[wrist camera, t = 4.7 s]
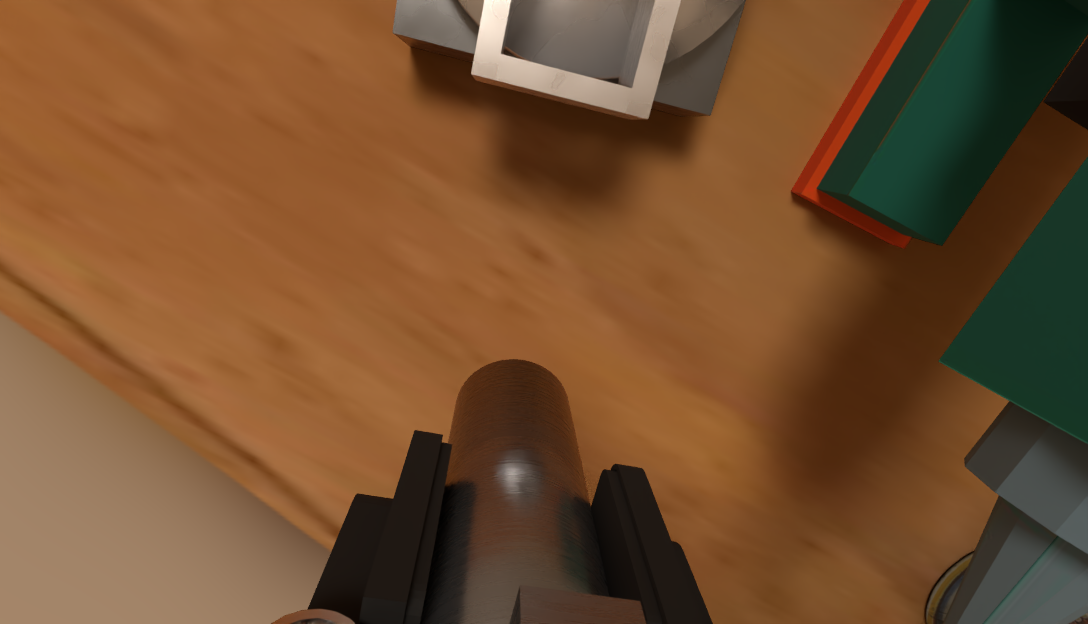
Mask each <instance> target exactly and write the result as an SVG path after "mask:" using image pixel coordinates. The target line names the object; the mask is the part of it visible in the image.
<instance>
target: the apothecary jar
mask: <svg viewBox="0 0 1088 624" xmlns="http://www.w3.org/2000/svg"><path fill="white" fill-rule="evenodd" d="M973 554H974V552H973V553H971V554H970V555H968V556H966V557H965V558H963V559H962V560H961V561H959V562H958V563H956V564H955V565H954V566H953V567H952V568H950V569H949V570H948V571H947V572H946V573H945V574H944V576H943V577H942V578H941V579H940V581H939V582H938V583H937V584H936V586H935V588H934V589H933V592H932V593H931V595H930V598H929V601H928V604H927V608H926V621H927V624H943V622H944V620H945V617H946V615H947V613H948V610H949V608H950V606H951V604H952V601H953V599H954V597H955V595H956V592H957V590H958V588H959V585H960V583H961V581H962V579H963V576H964V574H965V572H966V569H967V567H968V565H969V563H970V560H971V558H972V556H973ZM1069 624H1088V613H1086V614H1085V615H1083V616H1081V617H1079V618H1078V619H1076V620H1074V621H1072V622H1071V623H1069Z"/></svg>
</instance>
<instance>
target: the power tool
mask: <svg viewBox="0 0 1088 624" xmlns="http://www.w3.org/2000/svg"><path fill="white" fill-rule="evenodd" d="M1087 34H1088V0H904V1H903V3H902V4H901V6H900V8H899V9H898V11H897V13H896V14H895V16H894V18H893V20H892V21H891V23H890V25H889V26H888V28H887V30H886V31H885V33H884V35H883V36H882V38H881V40H880V42H879V43H878V45H877V47H876V48H875V50H874V52H873V53H872V55H871V57H870V58H869V60H868V62H867V63H866V65H865V67H864V69H863V70H862V72H861V74H860V75H859V77H858V79H857V80H856V82H855V84H854V85H853V87H852V89H851V90H850V92H849V94H848V96H847V97H846V99H845V101H844V102H843V104H842V106H841V107H840V109H839V111H838V112H837V114H836V116H835V117H834V119H833V121H832V123H831V124H830V126H829V128H828V129H827V131H826V133H825V134H824V136H823V138H822V139H821V141H820V143H819V145H818V146H817V148H816V150H815V151H814V153H813V155H812V156H811V158H810V160H809V161H808V163H807V165H806V166H805V168H804V170H803V172H802V173H801V175H800V177H799V178H798V180H797V182H796V183H795V185H794V187H793V188H792V190H791V192H793V193H795V194H797V195H799V196H800V197H802V198H804V199H806V200H808V201H810V202H812V203H814V204H816V205H817V206H819V207H821V208H823V209H825V210H827V211H829V212H831V213H833V214H835V215H836V216H838V217H840V218H842V219H844V220H846V221H848V222H850V223H852V224H854V225H855V226H857V227H859V228H861V229H863V230H865V231H867V232H869V233H871V234H872V235H874V236H876V237H878V238H880V239H882V240H884V241H886V242H888V243H890V244H892V245H895V246H898V247H901V248H904V249H905V248H906V246H907V245H908V243H909V242H910V240H911V239H912V237H913V238H916V239H920V240H923V241H927V242H930V243H934V244H937V245H941V246H942V245H943V244H944V242H945V241H946V239H947V238H948V236H949V235H950V234H951V232H952V231H953V229H954V228H955V226H956V225H957V223H958V222H959V220H960V219H961V218H962V216H963V215H964V213H965V212H966V210H967V209H968V207H969V206H970V204H971V203H972V202H973V200H974V199H975V197H976V196H977V194H978V193H979V191H980V190H981V188H982V187H983V186H984V184H985V183H986V181H987V180H988V178H989V177H990V175H991V174H992V172H993V171H994V170H995V168H996V167H997V165H998V164H999V162H1000V161H1001V159H1002V158H1003V156H1004V155H1005V154H1006V152H1007V151H1008V149H1009V148H1010V146H1011V145H1012V143H1013V142H1014V140H1015V139H1016V138H1017V136H1018V135H1019V133H1020V132H1021V130H1022V129H1023V127H1024V126H1025V125H1026V123H1027V122H1028V120H1029V119H1030V117H1031V116H1032V114H1033V113H1034V111H1035V110H1036V109H1037V107H1038V106H1039V104H1040V103H1041V101H1042V100H1043V98H1044V97H1045V95H1046V94H1047V93H1048V91H1049V90H1050V88H1051V87H1052V85H1053V84H1054V82H1055V81H1056V79H1057V78H1058V77H1059V75H1060V74H1061V72H1062V71H1063V69H1064V68H1065V66H1066V65H1067V63H1068V62H1069V61H1070V59H1071V58H1072V56H1073V55H1074V53H1075V52H1076V50H1077V49H1078V47H1079V46H1080V45H1081V43H1082V42H1083V40H1084V39H1085V37H1086V36H1087ZM1044 103H1046V104H1047V105H1049V106H1051V107H1052V108H1054V109H1055V110H1057V111H1059V112H1060V113H1062V114H1063V115H1065V116H1067V117H1068V118H1070V119H1071V120H1073V121H1074V122H1076V123H1078V124H1079V125H1081V126H1082V127H1084V128H1086V129H1087V130H1088V38H1087V39H1086V41H1085V42H1084V44H1083V45H1082V47H1081V48H1080V50H1079V51H1078V52H1077V54H1076V55H1075V57H1074V58H1073V60H1072V61H1071V63H1070V64H1069V66H1068V67H1067V68H1066V70H1065V71H1064V73H1063V74H1062V76H1061V77H1060V79H1059V80H1058V81H1057V83H1056V84H1055V86H1054V87H1053V89H1052V90H1051V92H1050V93H1049V95H1048V96H1047V97H1046V99H1045V100H1044ZM939 362H940V363H942V364H944V365H946V366H948V367H949V368H951V369H953V370H955V371H957V372H958V373H960V374H962V375H964V376H966V377H968V378H969V379H971V380H973V381H975V382H977V383H978V384H980V385H982V386H984V387H986V388H987V389H989V390H991V391H993V392H995V393H996V394H998V395H1000V396H1002V397H1004V398H1005V399H1007V400H1009V402H1008V404H1007V405H1006V406H1005V407H1004V409H1003V410H1002V411H1001V413H1000V414H999V415H998V416H997V418H996V419H995V420H994V421H993V423H992V424H991V425H990V427H989V428H988V429H987V430H986V432H985V433H984V434H983V435H982V437H981V438H980V439H979V441H978V442H977V443H976V444H975V446H974V447H973V448H972V449H971V451H970V452H969V453H968V455H967V456H966V457H965V458H964V459H965V467H966V468H967V469H969V470H970V471H971V472H972V473H973V474H974V475H976V476H977V477H978V478H979V479H980V480H981V481H982V482H984V483H985V484H986V485H987V486H988V487H989V488H991V489H992V490H993V491H994V492H995V493H997V494H998V495H999V497H998V499H997V501H996V504H995V506H994V508H993V510H992V513H991V515H990V517H989V519H988V522H987V524H986V526H985V529H984V531H983V533H982V535H981V538H980V540H979V542H978V544H977V547H976V549H975V551H974V554H973V556H972V558H971V560H970V563H969V565H968V567H967V569H966V572H965V574H964V576H963V579H962V581H961V583H960V585H959V588H958V590H957V592H956V595H955V597H954V599H953V601H952V604H951V606H950V608H949V610H948V613H947V615H946V617H945V620H944V622H943V624H1069V623H1071V622H1072V621H1074V620H1076V619H1078V618H1079V617H1081V616H1083V615H1085V614H1086V613H1088V157H1087V158H1086V160H1085V161H1084V162H1083V164H1082V165H1081V166H1080V168H1079V169H1078V171H1077V172H1076V173H1075V175H1074V176H1073V177H1072V179H1071V180H1070V182H1069V183H1068V184H1067V186H1066V187H1065V188H1064V190H1063V191H1062V193H1061V194H1060V195H1059V197H1058V198H1057V199H1056V201H1055V202H1054V203H1053V205H1052V206H1051V208H1050V209H1049V210H1048V212H1047V213H1046V214H1045V216H1044V217H1043V219H1042V220H1041V221H1040V223H1039V224H1038V225H1037V227H1036V228H1035V230H1034V231H1033V232H1032V234H1031V235H1030V236H1029V238H1028V239H1027V240H1026V242H1025V243H1024V245H1023V246H1022V247H1021V249H1020V250H1019V251H1018V253H1017V254H1016V256H1015V257H1014V258H1013V260H1012V261H1011V262H1010V264H1009V265H1008V266H1007V268H1006V269H1005V271H1004V272H1003V273H1002V275H1001V276H1000V277H999V279H998V280H997V282H996V283H995V284H994V286H993V287H992V288H991V290H990V291H989V293H988V294H987V295H986V297H985V298H984V299H983V301H982V302H981V303H980V305H979V306H978V308H977V309H976V310H975V312H974V313H973V314H972V316H971V317H970V319H969V320H968V321H967V323H966V324H965V325H964V327H963V328H962V330H961V331H960V332H959V334H958V335H957V336H956V338H955V339H954V340H953V342H952V343H951V345H950V346H949V347H948V349H947V350H946V351H945V353H944V354H943V356H942V357H941V358H940V360H939Z"/></svg>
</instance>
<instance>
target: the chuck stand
mask: <svg viewBox="0 0 1088 624" xmlns="http://www.w3.org/2000/svg"><path fill="white" fill-rule="evenodd" d="M745 1H746V0H744V1H743V2H742V4H741V5H740V6H739V7H738V8H737V10H736V11H735V12H734V13H733V14H732V16H731V17H730V18H729V19H728V20H727V21H726V22H725V23H724V24H723V25H722V26H721V27H720V28H719V29H718V30H717V31H716V32H715V33H713V34H712V35H711V36H710V37H709V38H707V39H706V40H705V41H703V42H702V43H701V44H699V45H698V46H697V47H695V48H694V49H693V50H691V51H689V52H688V53H686V54H684V55H682V56H680V57H679V58H677V59H675V60H673V61H671V62H669V63H667V64H664V65H663V67H662V71H661V75H660V78H659V82H658V85H657V89H656V93H655V96H654V100H653V104H652V107H651V109H654V110H658V111H662V112H666V113H670V114H674V115H678V116H682V117H685V116H710V115H711V112H712V109H713V106H714V102H715V99H716V96H717V93H718V89H719V86H720V83H721V80H722V76H723V73H724V70H725V66H726V63H727V60H728V57H729V53H730V50H731V47H732V44H733V40H734V37H735V34H736V31H737V27H738V24H739V21H740V18H741V14H742V11H743V8H744V4H745ZM478 33H479V27H478V26H477V24H476V23H475V22H474V21H473V20H472V19H471V17H470V16H469V15H468V14H467V13H466V12H465V11H464V9H463V8H462V6H461V5H460V3H459V2H458V0H397V5H396V12H395V19H394V27H393V34H395V35H396V36H397V37H399V38H400V39H401V40H402V41H404V42H405V43H406V44H408V45H409V46H410V47H414V48H418V49H422V50H426V51H430V52H434V53H437V54H441V55H445V56H449V57H453V58H457V59H461V60H465V61H468V62H472V63H473V61H474V55H475V50H476V44H477V38H478ZM503 55H507V56H511V57H514V58H517V57H515V56H514V55H512V54H511V53H510V52H508V51H507V50H505V49H504V54H503ZM518 59H519V58H518ZM602 81H606V82H610V83H614V84H618V81H619V78H614V79H604V80H602Z"/></svg>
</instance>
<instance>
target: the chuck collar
mask: <svg viewBox="0 0 1088 624" xmlns="http://www.w3.org/2000/svg"><path fill="white" fill-rule="evenodd" d="M743 1H744V0H458V2H459V3H460V5H461V6H462V8H463V9H464V11H465V12H466V13H467V14H468V15H469V16H470V17H471V19H472V20H473V21H474V22H475V23H476V24H477V26H478V27H479V33H478V38H477V44H476V50H475V55H474V61H473V66H472V72H471V75H472V76H473V77H474V79H475V80H476V81H479V82H483V83H487V84H491V85H495V86H499V87H503V88H507V89H511V90H515V91H519V92H523V93H527V94H530V95H534V96H538V97H542V98H546V99H550V100H554V101H558V102H562V103H566V104H570V105H574V106H578V107H582V108H586V109H590V110H593V111H597V112H601V113H605V114H609V115H613V116H617V117H621V118H625V119H629V120H638V119H648V118H649V115H650V111H651V107H652V104H653V100H654V96H655V93H656V89H657V85H658V82H659V78H660V75H661V71H662V67H663V65H664V64H667V63H669V62H671V61H673V60H675V59H677V58H679V57H680V56H682V55H684V54H686V53H688V52H689V51H691V50H693V49H694V48H695V47H697V46H698V45H699V44H701V43H702V42H703V41H705V40H706V39H707V38H709V37H710V36H711V35H712V34H713V33H715V32H716V31H717V30H718V29H719V28H720V27H721V26H722V25H723V24H724V23H725V22H726V21H727V20H728V19H729V18H730V17H731V16H732V14H733V13H734V12H735V11H736V10H737V8H738V7H739V6H740V5H741V4H742V2H743ZM504 49H505V50H507V51H508V52H510V53H511V54H512V55H514V56H515V57H517V58H514V57H511V56H507V55H503V54H504ZM518 58H519V59H518ZM614 78H619V81H618V84H614V83H610V82H606V81H602V80H604V79H614Z"/></svg>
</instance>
